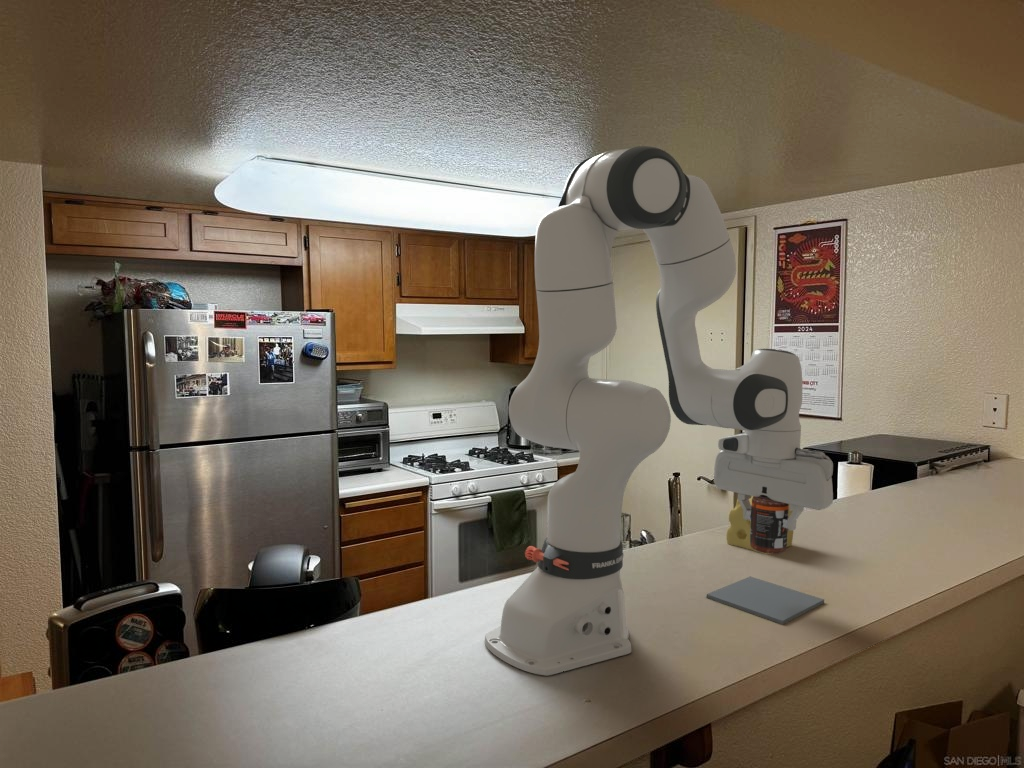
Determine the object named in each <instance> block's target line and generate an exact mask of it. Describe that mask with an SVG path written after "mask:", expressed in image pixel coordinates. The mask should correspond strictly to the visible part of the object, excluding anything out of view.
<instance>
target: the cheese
mask: <svg viewBox="0 0 1024 768" xmlns="http://www.w3.org/2000/svg"><path fill="white" fill-rule="evenodd" d="M753 497H754V496H751V498H750V499H749V502H750V504H751V506H752V498H753ZM789 509H790V504H789V506H788V517H790V515H791V513H792V512H793V511H790V510H789ZM728 522H729V523H730V526H729V527H728V528H727V530H726V542H727V544H728V545H731V546H736V547H739V548H743V549H747V550H750V551H753V552H758V553H761V554H764V555H768V556H769V555H772V553H764V552H759V551H757V550H755V549H753V548H752V547H751V546H750V531H751V521H750V520H746V519H744V518H743V509H742V507H741V505H740V503H739V501H738V498H737V499H736V504H735V506H734V508H731V509H730V511H729V513H728ZM793 538H794V530H793V531H790V530H788V532H787V547H786V548H788V547H790V546H792V545H793Z"/></svg>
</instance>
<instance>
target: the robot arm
mask: <svg viewBox="0 0 1024 768" xmlns="http://www.w3.org/2000/svg"><path fill="white" fill-rule="evenodd" d="M564 184H565V185H564V186H563V192H562V195H561V198H560V200H559V203H558V207H556V208H553V209H551V210H548V212H547V213H545V214H544V215H543V216H541V218H540V219H539V221H538V222H537V225H536V230H535V231H536V232H535V239H534V240H535V241H534V281H535V291H536V292H535V293H536V302H537V303H536V304H537V315H538V316H537V317H538V335H539V339H538V349H537V352H536V353H537V354H536V357H535V359H534V364H533V366H532V368H531V370H530V372H529V373H528V375H527V376H526V378H524V379H523V380H522V381H521V382H520V383H519V384H518V385H517V386H516V388H515V389H514V391H513V392H512V394H511V396H510V400H509V405H508V416H509V417H508V418H509V420H510V425H511V427H512V428H513V431H514V432H515V433H516V434H517V435H518V436H519V437H521V438H523V439H524V440H528V441H530V442H532V443H535V444H538V445H540V446H545V447H550V448H556V449H557V448H558V449H564V450H565V449H566V450H573V451H579V460H578V464H577V468H575V469H576V470H575V471H574V472H571V473H569V474H567V475H564V476H563V477H561V478H560V479H558V480H557V481H556V482H555V483H554V484H553V485H552V487H551V488H550V490H549V492H548V495H547V512H546V513H547V522H546V525H547V526H546V531H547V532H546V538H545V539H544V541H543V544H542V547H541V548H537V547H536V546H533V545H529V546H528V547H526V549H525V551H524V555H525V558H526V559H527V560H530V561H533V562H534V563H537V567H536V568H535V569H534V570H533V572H532V573H530V575H529V576H528V577H527V578H526V579H525V581H523V583H521V585H519V587H517V589H515V591H514V592H513V593H512V594H511V595H510V596H509V597H508V598H507V599H506V601H505V603H504V606H503V609H502V614H501V623H500V626H498V627H497V628H494V629H493V630H491V631H489V632H488V633H486V634H485V636H484V644H485V646H486V648H487V649H488V651H490V652H491V654H493V655H494V656H496V658H498V659H500V660H501V661H503V662H505V663H507V664H509V665H511V666H513V667H515V668H517V669H520V671H521V670H522V671H525V672H528V673H532V674H534V675H541V676H552V675H555V674H559V673H563V671H564V672H566V671H567V672H568V671H571V670H575V669H577V668H581V667H586V666H588V665H591V664H596V663H600V662H604V661H607V660H611V659H615V658H618V657H621V656H626V655H629V654H630V653H632V642H631V641H630V640H629V637H630V633H629V629H628V625H627V615H626V604H625V593H624V588H623V584H622V579H621V570H622V568H623V564H624V563H623V559H624V552H623V551H624V547H623V546H624V545H623V542H622V541H621V528H622V527H621V525H622V524H621V522H622V512H623V511H622V509H623V501H624V495H625V491H626V489H627V484H628V482H629V481H630V478H631V477H632V475H633V473H634V472H635V470H636V469H637V467H638V466H639V465H640V464H641V463H642V462H643V461H644V460H645V459H646V458H648V457H649V456H651V455H653V454H654V453H655V452H656V451H658V450H659V449H660V448H661V446H662V445H663V444H664V443H665V441H666V440H667V437H668V435H669V432H670V428H671V421H672V420H671V417H672V416H671V412H670V411H671V410H672V412H673V414H674V415H675V417H676V418H677V419H678V420H680V422H682V423H683V424H687V425H689V426H690V425H691V426H693V425H695V426H696V425H697V426H712V427H717V428H722V429H733V430H739V431H744V432H738V433H736V434H733V435H728V436H723V437H720V438H718V441H717V447H718V450H720V451H718V453H717V454H716V457H715V460H714V469H713V483H714V485H715V486H716V488H717V489H718V490H723V491H728V492H732V493H736V494H737V499H738V501H739V503H740V505H741V507H742V509H743V518H744V519H746V520H750V521H751V504H750V502H749V499H750V498H751V496H754V497H759V496H760V495H766V496H768V497H769V498H770V499H772V500H774V501H777V502H782V503H787V504H790V509H789V510H790V511H793V512H792V513H791V515H790V517H787V518H784V519H783V529H786V530H790V531H793V532H794V531H795V530H796V528H797V520H798V519H799V517H800V516H801V514H802V513H803V512H804V511H805V510H804V509H805V508H806V509H811V510H815V511H822V510H825V509H828V508H829V507H831V505H832V504H833V502H834V491H833V478H832V476H833V474H834V473H833V472H834V463H833V461H832V459H831V458H830V457H829V456H828V455H826V453H824V452H822V451H819V450H817V451H816V450H815V451H813V450H809V449H804V448H801V435H802V434H801V433H802V432H801V431H802V430H801V429H802V425H801V422H800V421H801V420H800V410H801V407H802V405H803V372H802V371H803V369H802V364H801V361H800V358H799V356H798V355H797V354H795V353H794V352H790V351H788V350H783V349H775V348H758V349H755V350H753V351H752V353H751V356H750V358H749V360H748V361H747V362H746V363H744V364H743V365H741V366H739V367H737V368H735V369H723V368H722V369H720V368H712V367H710V366H708V365H707V364H706V363H705V362H704V361H703V360H702V357H701V351H700V344H699V340H698V335H697V327H696V317H697V314H698V313H699V312H701V311H702V310H703V309H706V308H708V307H709V306H711V305H713V304H714V303H715V302H716V301H718V300H720V299H721V298H722V297H723V296H724V295H725V294H726V293H727V292H728V291H729V290H730V288H731V286H732V285H733V283H734V280H735V277H736V275H737V262H736V261H737V260H736V256H735V252H734V251H735V250H734V248H733V245H732V240H731V239H730V235H729V233H728V228H727V225H726V223H725V221H724V220H725V219H724V217H723V215H722V212H721V209H720V208H719V205H718V203H717V201H716V200H715V197H714V194H713V193H712V191H711V189H710V187H709V186H708V184H707V182H706V181H704V179H703V178H701V177H699V176H696V175H692V174H685V172H684V170H683V168H682V167H681V166H680V164H679V163H678V161H677V159H675V158H674V156H673V155H671V154H670V153H669V152H667V151H665V150H663V149H661V148H658V147H654V146H649V145H648V146H646V145H639V146H634V147H631V148H624V149H621V148H617V149H611V150H608V151H605V152H602V153H600V154H597V155H595V156H591V157H588V158H586V159H584V160H582V161H581V162H580V163H578V164H577V165H576V166H575V167H574V168H572V170H571V172H570V173H569V174H568V177H567V179H566V181H565V183H564ZM636 229H638V230H642V231H643V232H644V234H645V235H646V236H647V238H648V239H649V242H650V243H651V248H652V251H653V252H652V253H653V255H654V258H655V260H656V265H657V268H658V271H659V276H660V277H659V278H660V288H659V290H658V292H657V293H656V300H655V301H656V302H655V309H656V310H655V311H656V316H657V317H656V318H657V322H658V328H659V334H660V338H661V339H660V340H661V343H662V344H661V345H662V348H663V349H662V350H663V354H664V360H665V365H666V370H667V376H668V377H667V378H668V400H669V404H668V402H667V399H666V398H665V396H664V395H663V393H662V392H661V391H660V389H657V388H656V387H653V386H649V385H646V384H643V383H638V382H635V381H631V380H624V379H623V380H622V379H610V378H609V379H608V378H593V377H590V376H589V370H588V369H589V362H590V359H591V357H593V356H595V355H596V354H598V353H600V352H602V351H603V350H604V349H606V348H607V347H609V345H610V344H611V343H612V341H613V339H614V337H615V335H616V332H617V328H618V326H617V325H618V324H617V315H616V301H615V291H614V290H615V289H614V276H613V268H612V261H611V258H612V250H613V244H614V242H615V239H616V236H617V235H618V233H619V232H625V231H633V230H636ZM669 405H670V407H671V410H670V407H669ZM762 487H767V493H766V494H765V493H762Z"/></svg>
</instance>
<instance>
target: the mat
mask: <svg viewBox="0 0 1024 768" xmlns="http://www.w3.org/2000/svg"><path fill="white" fill-rule="evenodd" d="M706 598H707V599H710V600H712V601H716V602H718V603H721V604H723V605H727V606H730V607H732V608H734V609H735V608H736V609H738V610H741V611H743V612H746V613H748V614H749V613H750V614H752V615H755V616H757V617H760V618H763V619H765V620H769V621H771V622H775V623H777V624H780V625H784V624H786V623H788V622H790V621H792V620H794V619H796V618H798V617H800V616H801V615H802V616H803V614H805V613H808V612H809V611H811V610H813V609H815V608H817V607H819V606H821V605H823V604H824V603H825V598H821V597H818V596H815V595H812V594H809V593H805V592H802V591H798V590H795V589H792V588H789V587H786V586H782V585H779V584H776V583H772V582H769V581H766V580H763V579H760V578H756V577H753V576H748V577H745V578H743V579H740V580H738V581H735V582H733V583H730V584H728V585H726V586H723V587H721V588H718V589H716V590H714V591H710V592H709V593H706Z"/></svg>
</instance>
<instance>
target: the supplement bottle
mask: <svg viewBox="0 0 1024 768" xmlns="http://www.w3.org/2000/svg"><path fill="white" fill-rule="evenodd" d="M762 493H765V494H766V493H767V487H762ZM788 506H789V504H787V503H782V502H777V501H774V500H772V499H770V498H769V497H768V496H766V495H760V496H759V497H753V498H752V506H751V531H750V546H751V547H752V548H753V549H755V550H757V551H759V552H758V553H760V552H764V553H772V554H775V555H776V554H777V555H778V554H782V553H785V552H786V551H787V548H788V547H787V532H788V530H786V529H783V519H784V518H787V517H788ZM757 551H756V552H757ZM772 554H771V555H772Z"/></svg>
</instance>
